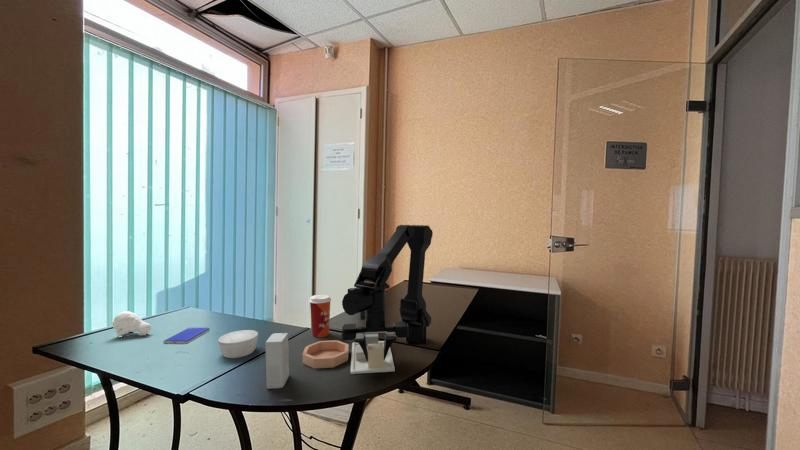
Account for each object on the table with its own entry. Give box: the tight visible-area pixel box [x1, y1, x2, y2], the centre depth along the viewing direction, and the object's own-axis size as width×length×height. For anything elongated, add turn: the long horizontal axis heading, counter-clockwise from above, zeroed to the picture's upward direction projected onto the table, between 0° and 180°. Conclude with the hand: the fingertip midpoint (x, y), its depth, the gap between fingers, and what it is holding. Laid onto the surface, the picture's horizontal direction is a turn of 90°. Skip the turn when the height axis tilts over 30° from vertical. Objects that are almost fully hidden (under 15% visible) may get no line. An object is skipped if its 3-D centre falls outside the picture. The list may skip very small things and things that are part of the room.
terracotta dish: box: [302, 339, 350, 369], centre depth 98 cm, size 13×13×3 cm
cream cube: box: [368, 343, 384, 368], centre depth 94 cm, size 4×4×5 cm
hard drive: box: [163, 327, 211, 344], centre depth 117 cm, size 2×8×12 cm
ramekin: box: [217, 329, 259, 359], centre depth 104 cm, size 11×11×5 cm
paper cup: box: [308, 294, 332, 338], centre depth 117 cm, size 8×8×14 cm
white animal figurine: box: [111, 310, 152, 337], centre depth 118 cm, size 6×8×12 cm
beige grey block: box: [356, 346, 368, 361], centre depth 99 cm, size 4×5×2 cm
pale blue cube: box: [365, 334, 379, 346], centre depth 104 cm, size 4×4×5 cm
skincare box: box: [264, 332, 290, 390], centre depth 85 cm, size 6×4×12 cm
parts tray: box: [350, 340, 395, 375], centre depth 99 cm, size 12×20×1 cm, turn 7°
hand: (375, 360), depth 94 cm, fingers closed on cream cube, 4 cm apart
